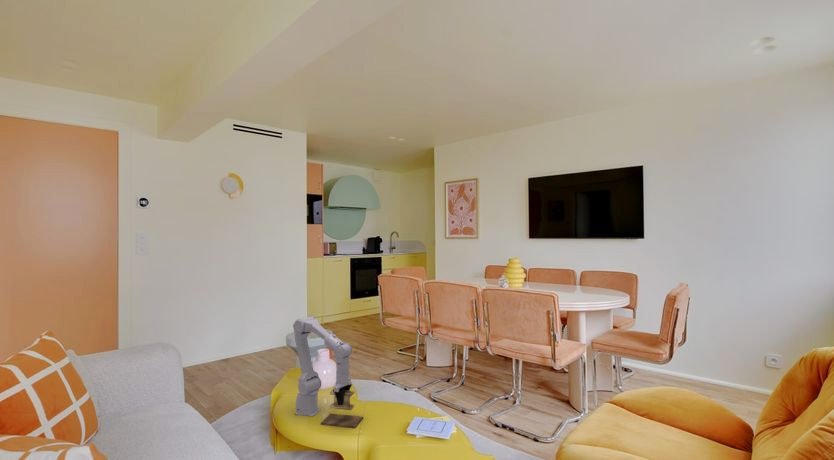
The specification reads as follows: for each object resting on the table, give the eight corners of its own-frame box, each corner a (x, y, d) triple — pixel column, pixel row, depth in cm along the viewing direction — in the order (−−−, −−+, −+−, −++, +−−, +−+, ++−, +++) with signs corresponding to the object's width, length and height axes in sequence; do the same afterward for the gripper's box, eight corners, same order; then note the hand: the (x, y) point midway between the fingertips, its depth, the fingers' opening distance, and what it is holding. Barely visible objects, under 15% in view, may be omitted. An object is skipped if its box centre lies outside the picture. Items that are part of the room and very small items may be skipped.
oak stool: (351, 410, 174) (351, 394, 174) (329, 408, 176) (330, 392, 176) (354, 406, 178) (354, 390, 178) (333, 404, 180) (333, 389, 180)
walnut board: (320, 424, 173) (320, 422, 173) (330, 415, 183) (330, 413, 183) (355, 428, 170) (355, 426, 170) (363, 418, 180) (363, 416, 180)
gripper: (344, 377, 169) (344, 410, 169) (357, 367, 184) (356, 397, 183) (329, 376, 171) (329, 408, 170) (342, 366, 185) (342, 396, 184)
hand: (342, 402), depth 177 cm, fingers closed on oak stool, 4 cm apart
